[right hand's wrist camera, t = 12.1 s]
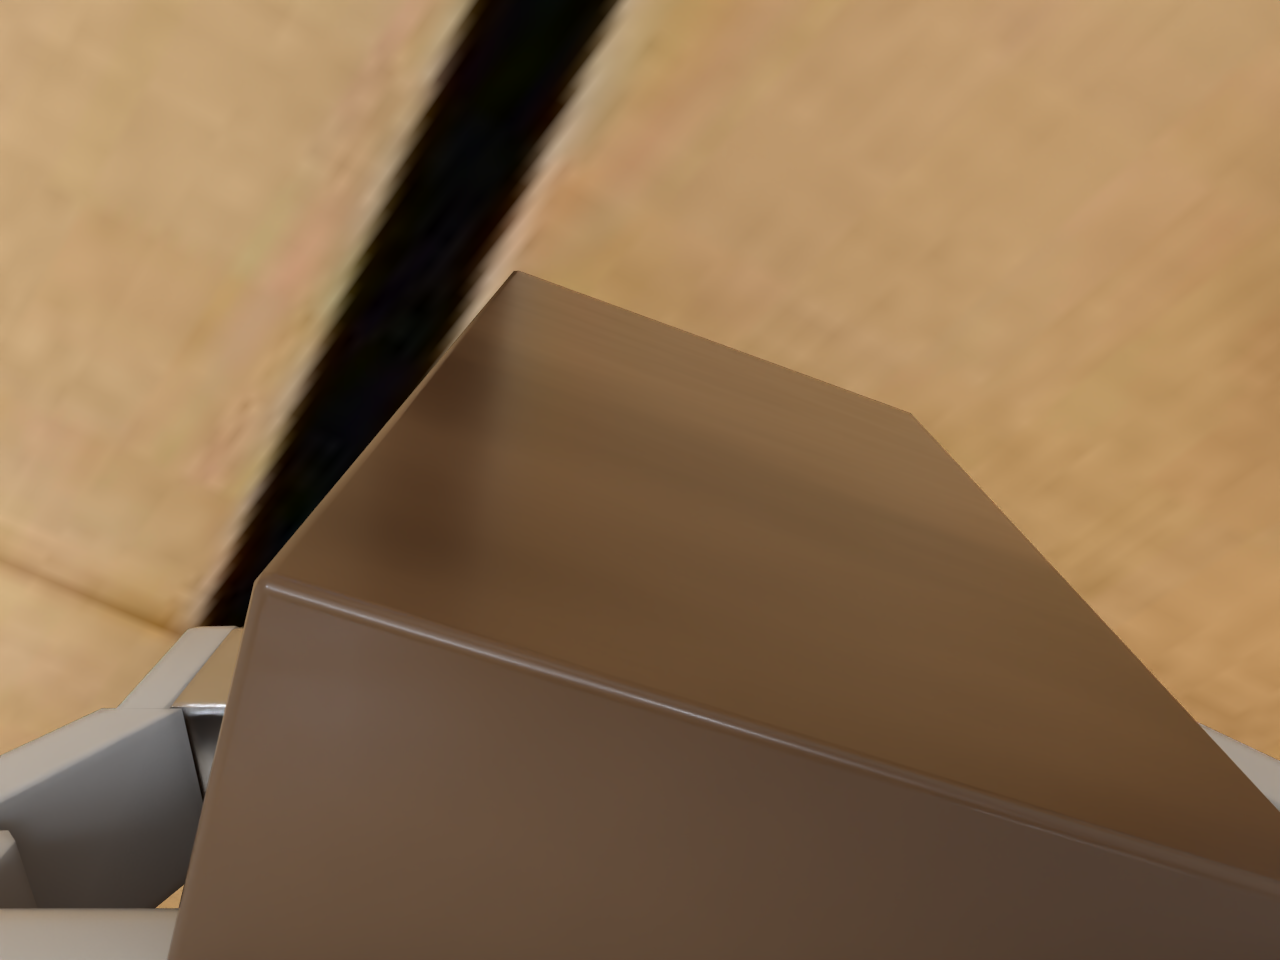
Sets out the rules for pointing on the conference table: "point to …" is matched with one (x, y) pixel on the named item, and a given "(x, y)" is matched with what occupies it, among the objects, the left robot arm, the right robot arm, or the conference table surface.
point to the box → (695, 693)
